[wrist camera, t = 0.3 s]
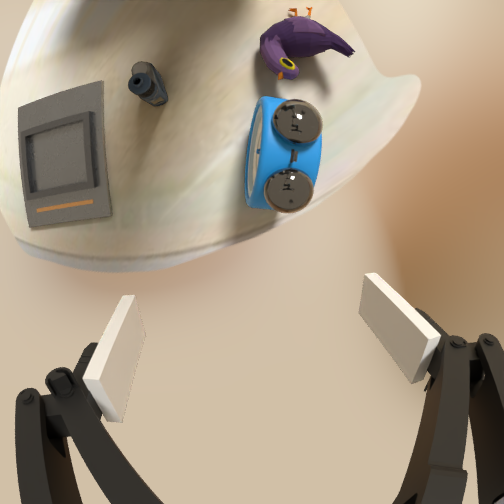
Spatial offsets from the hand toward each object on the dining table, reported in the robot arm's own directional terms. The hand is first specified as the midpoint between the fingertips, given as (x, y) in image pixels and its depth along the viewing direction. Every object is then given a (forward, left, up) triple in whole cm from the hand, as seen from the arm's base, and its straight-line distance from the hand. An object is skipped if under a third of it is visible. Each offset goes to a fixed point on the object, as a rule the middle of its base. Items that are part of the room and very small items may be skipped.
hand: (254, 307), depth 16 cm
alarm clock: (-7, +5, -27) cm, 28 cm away
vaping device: (-17, -10, -27) cm, 33 cm away
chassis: (-10, -26, -26) cm, 38 cm away
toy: (-24, +10, -27) cm, 37 cm away
